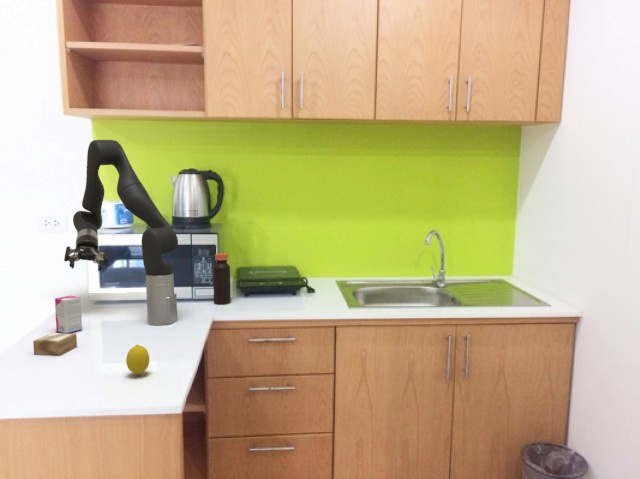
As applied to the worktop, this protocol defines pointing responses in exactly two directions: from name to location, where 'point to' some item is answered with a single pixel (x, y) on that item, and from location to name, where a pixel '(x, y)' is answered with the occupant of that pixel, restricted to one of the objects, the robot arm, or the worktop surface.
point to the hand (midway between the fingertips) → (86, 267)
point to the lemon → (137, 359)
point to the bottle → (221, 280)
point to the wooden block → (55, 344)
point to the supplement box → (68, 314)
